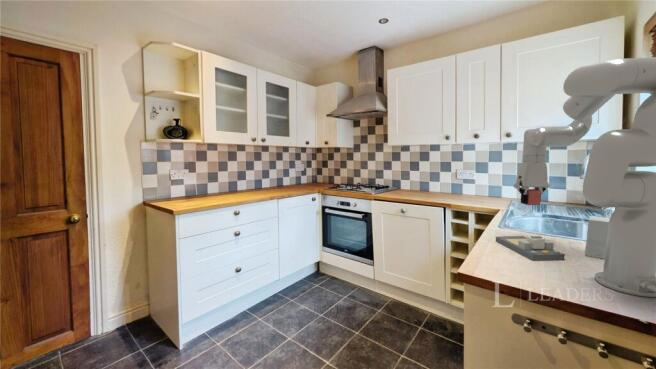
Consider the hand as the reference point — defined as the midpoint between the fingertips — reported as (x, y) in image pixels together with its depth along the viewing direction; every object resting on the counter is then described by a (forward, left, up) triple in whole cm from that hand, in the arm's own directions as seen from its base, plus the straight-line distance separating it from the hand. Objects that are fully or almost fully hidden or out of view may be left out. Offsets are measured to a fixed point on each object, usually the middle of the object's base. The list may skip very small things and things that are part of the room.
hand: (530, 203), depth 114 cm
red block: (0, 0, 0) cm, 0 cm away
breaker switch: (-17, +10, -13) cm, 23 cm away
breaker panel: (-13, +10, -15) cm, 22 cm away
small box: (-19, -11, -15) cm, 27 cm away
